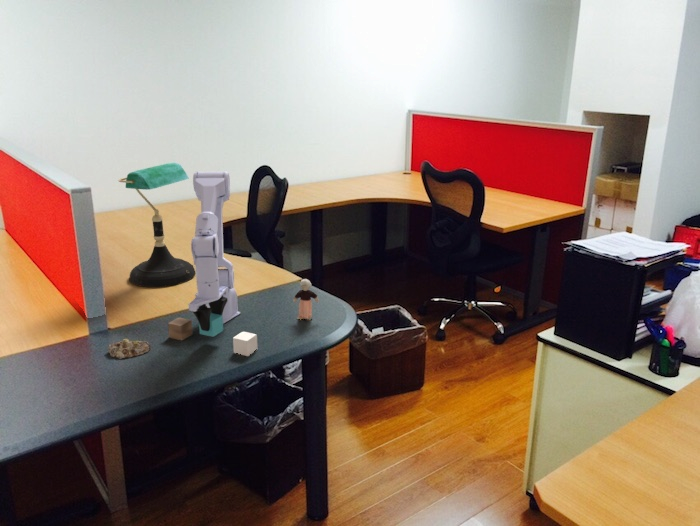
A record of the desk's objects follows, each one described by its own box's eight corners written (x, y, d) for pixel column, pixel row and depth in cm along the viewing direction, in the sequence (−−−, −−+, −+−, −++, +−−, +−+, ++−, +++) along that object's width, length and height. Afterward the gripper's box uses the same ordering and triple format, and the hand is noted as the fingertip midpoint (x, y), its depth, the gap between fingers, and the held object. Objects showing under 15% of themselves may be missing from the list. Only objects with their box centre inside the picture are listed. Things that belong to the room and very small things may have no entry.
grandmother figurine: (294, 321, 175) (293, 281, 171) (293, 316, 179) (292, 277, 175) (319, 320, 176) (319, 280, 172) (318, 315, 180) (317, 276, 176)
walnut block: (180, 331, 169) (178, 317, 167) (192, 334, 167) (191, 320, 165) (169, 337, 165) (167, 323, 163) (182, 340, 163) (180, 325, 162)
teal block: (210, 327, 163) (209, 312, 162) (223, 330, 161) (222, 315, 160) (199, 333, 159) (198, 318, 158) (213, 336, 158) (212, 321, 156)
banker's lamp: (168, 292, 198) (156, 174, 186) (112, 284, 205) (97, 170, 193) (210, 268, 222) (202, 162, 210) (158, 262, 229) (148, 159, 217)
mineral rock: (104, 353, 151) (109, 333, 157) (106, 366, 153) (112, 345, 160) (148, 352, 153) (151, 332, 159) (149, 364, 155) (153, 344, 161)
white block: (243, 346, 160) (242, 331, 158) (257, 349, 158) (256, 334, 157) (233, 353, 156) (232, 337, 155) (247, 356, 154) (247, 340, 153)
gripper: (212, 269, 163) (215, 314, 168) (177, 286, 151) (181, 334, 155) (233, 273, 161) (236, 318, 165) (199, 290, 148) (203, 339, 152)
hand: (211, 326), depth 160 cm, fingers closed on teal block, 4 cm apart
